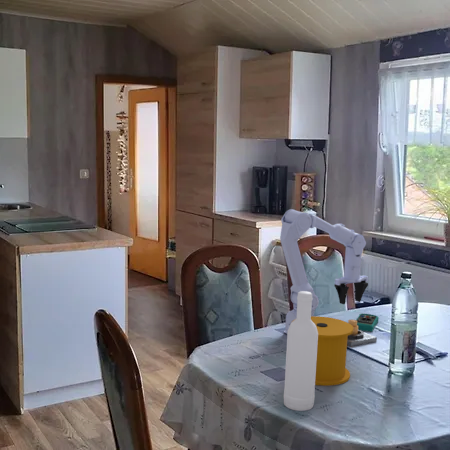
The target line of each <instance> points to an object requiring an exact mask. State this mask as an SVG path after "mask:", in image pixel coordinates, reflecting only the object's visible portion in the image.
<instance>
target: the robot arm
mask: <svg viewBox="0 0 450 450" xmlns="http://www.w3.org/2000/svg"><path fill="white" fill-rule="evenodd" d="M280 221H281V224H282V225H281V231H280V237H279V241H280V244H281V247H282V251H283V255H284V259H285V261H286V265H287V269H288V273H289V276H290V279H291V283H292V285H291V286H290V301H291V302H292V305H293V309H292V310H289V311H287V313H286V315H285V328H284V329H285V330H283V333H285V334H286V335H287V332H288V329H289V327H290V324H291V322H292V321H293V320H295V319H296V318H297V301H298V300H297V296H298V293H299V292H300V291H307V292H311V293H312V298H313V300H312V307H311V316H315V311H316V309H317V308H318V305H319V304H320V302H319V301H320V300H319V297H318V296H317V295H316V293H315V291H314V289H313V287H312V286H311V284H310V283H309V280H308V277H307V273H306V269H305V265H304V263H303V258H302V255H301V252H300V248H299V243H298V241H299V239H300V238H301V237H302V236H303V235H304V234H305V233H306V232H308V230H310V229H314V228H316V229H318V230H321V231H324V232H325V233H328V235H329V238H330V239H331V240H333V241H336V242H337V243H339V244H341V245H343V246H344V247H345V256H344V269H343V270H344V271H343V276H341V277H339V278H335V279H334V288H335V290H336V293H337V296H338V300H339V301H338V302H339V304H340V305H345V304H346V302H347V301H346V300H347V294H348V291H349V289H350V287H349V286H348V285H347V284H353V286H354V300H355V301H356V302H358V303H361V301H362V297H363V295H364V293H365V290H366V289H367V288H368V286H369V282H368V281H369V276H367V275H361V269H362V268H361V267H362V256H363V251H364V249H365V247H366V245H367V241H366V239H365V237H364V235H363V234H361V233H357V232H355V230H354V229H352V228H347V227H346V225H345V224H343V223H335V224H331V223H329V222H328V221H325V220H324V219H322V218H320V217H319V216H317V215H314V214H310V213H308V212H302V211H300V210H296V209H292V208H290V209H288V210H286V211H285V213H284V214H283V216H282V217H281V219H280Z"/></svg>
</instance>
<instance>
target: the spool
mask: <svg viewBox="0 0 450 450" xmlns="http://www.w3.org/2000/svg"><path fill="white" fill-rule="evenodd" d="M311 320H312V322H313V323H314V324H315V325H316V327H317V331H318V344H317V360H316V376H315V386H324V387H327V386H328V387H329V386H338V385H343V384H345V383H347V382H348V381H349V380H350V379H351V372H350V370H349V369H347V367H346V366H347V365H346V364H347V351H348V350H347V348H348V345H347V338H348V335H350V334H352V333H353V326H352V325H351V324H349V323H348V321H345V320H341V319H339V318H334V317H327V316H319V315H317V316H315V315H314V316H311ZM293 321H294V320H293ZM293 321H292V322H293ZM292 322H291V323H292Z"/></svg>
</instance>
